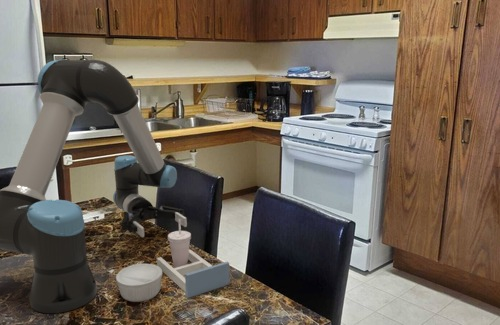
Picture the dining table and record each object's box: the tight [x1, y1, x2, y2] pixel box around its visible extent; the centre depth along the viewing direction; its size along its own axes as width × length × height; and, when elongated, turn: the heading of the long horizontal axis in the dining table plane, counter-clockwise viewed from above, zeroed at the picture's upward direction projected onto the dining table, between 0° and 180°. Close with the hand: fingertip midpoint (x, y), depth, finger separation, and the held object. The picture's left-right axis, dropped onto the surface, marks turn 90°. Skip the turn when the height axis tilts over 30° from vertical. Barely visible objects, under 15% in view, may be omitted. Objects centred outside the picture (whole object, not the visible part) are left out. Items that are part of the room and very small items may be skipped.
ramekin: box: [115, 263, 164, 303], centre depth 107 cm, size 11×11×5 cm
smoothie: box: [167, 219, 192, 268], centre depth 120 cm, size 6×6×14 cm
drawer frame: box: [156, 249, 230, 299], centre depth 116 cm, size 12×20×6 cm, turn 35°
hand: (164, 227), depth 127 cm, fingers open, 13 cm apart
